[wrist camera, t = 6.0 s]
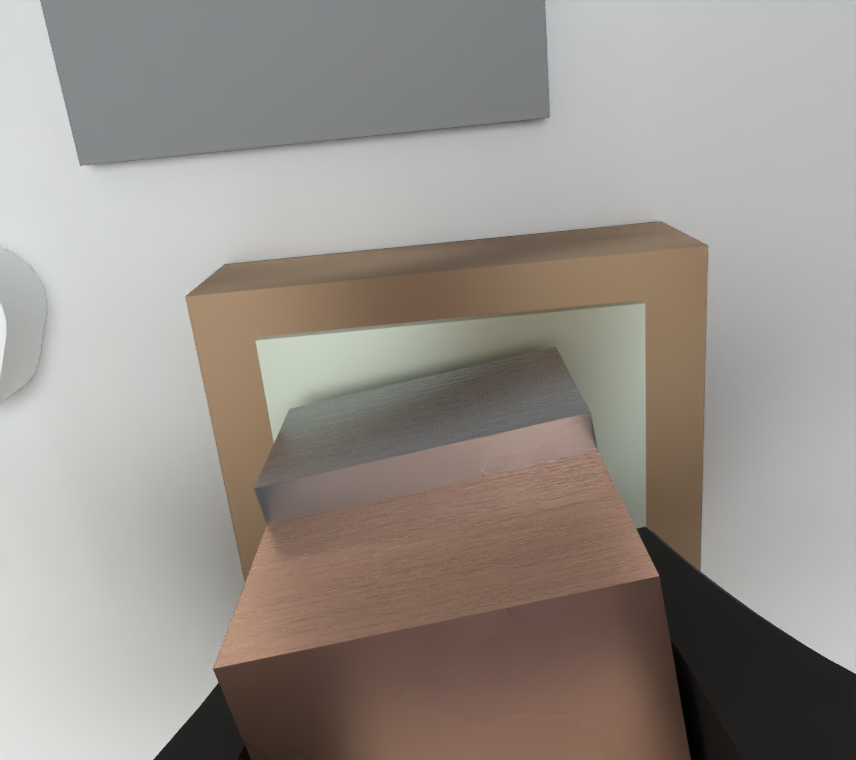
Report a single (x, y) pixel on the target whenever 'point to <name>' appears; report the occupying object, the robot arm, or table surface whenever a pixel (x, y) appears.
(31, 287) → the mounting plate
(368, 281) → the stand
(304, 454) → the block
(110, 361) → the table surface
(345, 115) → the mat
